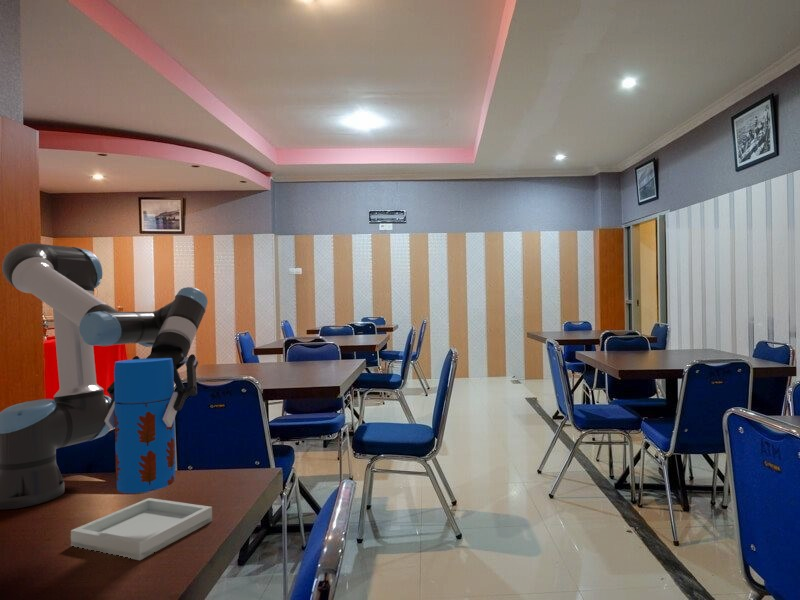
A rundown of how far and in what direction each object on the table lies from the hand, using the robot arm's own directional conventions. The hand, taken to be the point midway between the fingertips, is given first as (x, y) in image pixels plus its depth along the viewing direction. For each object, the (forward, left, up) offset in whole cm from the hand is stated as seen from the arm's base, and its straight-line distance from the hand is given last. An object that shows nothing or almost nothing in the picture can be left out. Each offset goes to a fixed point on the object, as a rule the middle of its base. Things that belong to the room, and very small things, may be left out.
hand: (137, 424), depth 99 cm
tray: (-2, +3, -23) cm, 23 cm away
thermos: (-1, +3, -13) cm, 13 cm away
